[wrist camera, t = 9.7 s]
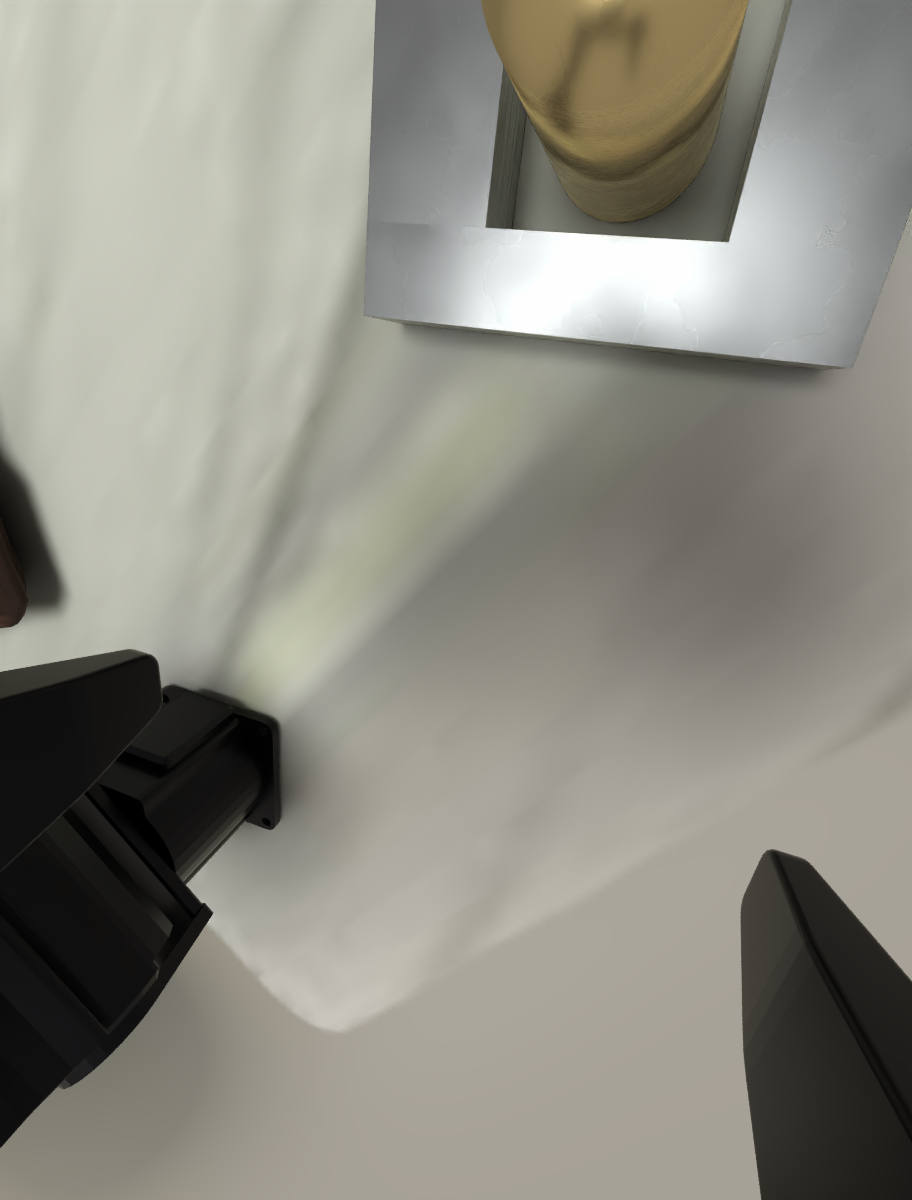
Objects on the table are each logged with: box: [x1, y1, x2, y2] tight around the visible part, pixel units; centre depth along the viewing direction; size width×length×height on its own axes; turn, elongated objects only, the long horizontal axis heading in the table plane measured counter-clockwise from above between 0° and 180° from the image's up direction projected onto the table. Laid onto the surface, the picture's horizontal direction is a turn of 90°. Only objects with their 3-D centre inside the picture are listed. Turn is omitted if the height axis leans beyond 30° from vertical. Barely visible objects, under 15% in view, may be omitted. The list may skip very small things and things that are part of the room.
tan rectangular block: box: [481, 0, 749, 223], centre depth 11 cm, size 4×4×7 cm
